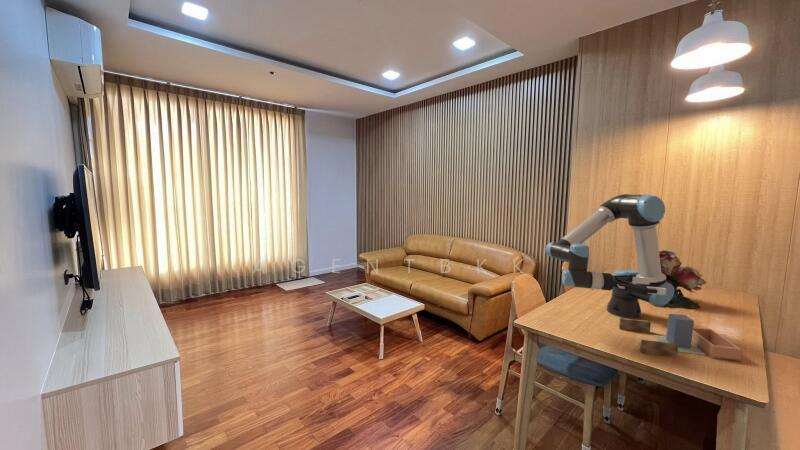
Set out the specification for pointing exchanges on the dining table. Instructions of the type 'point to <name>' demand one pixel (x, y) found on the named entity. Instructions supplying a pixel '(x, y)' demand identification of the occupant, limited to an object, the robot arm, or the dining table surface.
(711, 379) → the dining table surface
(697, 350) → the pad
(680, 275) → the rose bouquet
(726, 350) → the tan open box
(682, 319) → the tall block
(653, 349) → the walled lane
